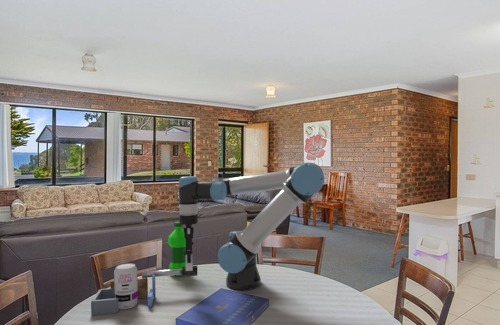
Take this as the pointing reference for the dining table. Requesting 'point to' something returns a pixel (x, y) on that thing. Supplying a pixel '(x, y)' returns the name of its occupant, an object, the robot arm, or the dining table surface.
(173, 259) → the plastic bottle
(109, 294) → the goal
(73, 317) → the dining table surface
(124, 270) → the supplement can
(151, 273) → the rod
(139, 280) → the brown wooden board
